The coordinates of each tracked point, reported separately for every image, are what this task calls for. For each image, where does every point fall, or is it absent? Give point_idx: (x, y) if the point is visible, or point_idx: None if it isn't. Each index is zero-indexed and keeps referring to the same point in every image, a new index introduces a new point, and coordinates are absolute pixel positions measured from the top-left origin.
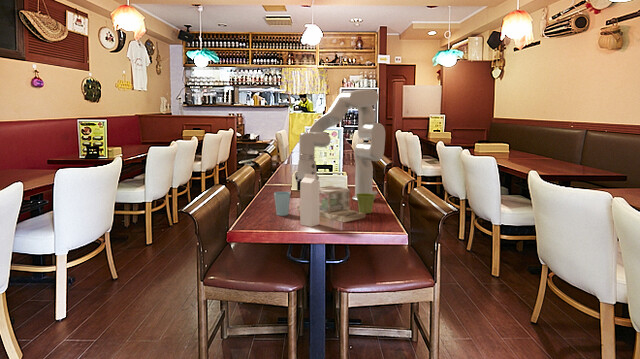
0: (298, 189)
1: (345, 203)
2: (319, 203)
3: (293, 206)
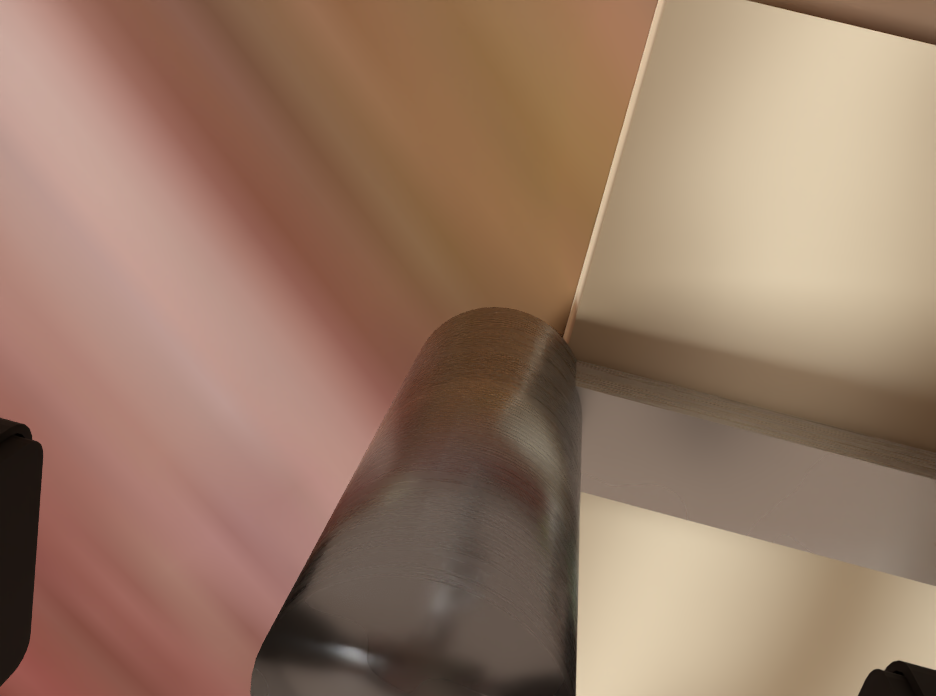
0: (6, 671)
1: None
2: (751, 54)
3: (119, 347)
